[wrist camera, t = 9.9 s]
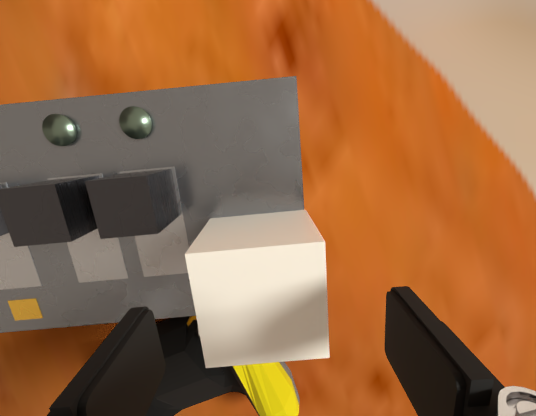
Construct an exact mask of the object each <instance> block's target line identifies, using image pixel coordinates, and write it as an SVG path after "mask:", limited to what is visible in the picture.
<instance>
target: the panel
mask: <svg viewBox="0 0 536 416" xmlns="http://www.w3.org/2000/svg"><path fill="white" fill-rule="evenodd" d="M0 184H1V186H2V188H1V189H0V209H1V212H2V215H3V217H4V220H5V223H6V226H7V228H8V231H9V233H8V234H5V235H2V236H0V333H3V332H14V331H26V330H37V329H49V328H60V327H71V326H83V325H94V324H106V323H117V322H120V320H121V319H122V318H123V317H124V315H125V314H126V313H127V312H128V310H129V309H130V308H133V307H145V306H146V307H148V308H149V310H152V311H153V314H154V318H155V319H163V318H174V317H186V316H196V313H195V307H194V302H193V296H192V291H191V286H190V280H189V275H188V270H187V264H186V259H185V253H186V252H187V250H188V249H189V247H190V246H191V245H192V243H193V242H194V240H195V239H196V238H197V236H198V235H199V233H200V232H201V231H202V229H203V228H204V226H205V225H206V224H207V222H208V221H209V219H210V218H220V217H231V216H242V215H253V214H264V213H274V212H285V211H296V210H304V199H303V182H302V165H301V148H300V131H299V114H298V97H297V79H296V76H293V77H282V78H272V79H262V80H252V81H241V82H231V83H221V84H210V85H200V86H190V87H179V88H169V89H159V90H149V91H138V92H128V93H118V94H107V95H97V96H87V97H76V98H66V99H56V100H46V101H35V102H25V103H15V104H4V105H0Z"/></svg>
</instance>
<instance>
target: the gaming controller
mask: <svg viewBox="0 0 536 416" xmlns="http://www.w3.org/2000/svg"><path fill="white" fill-rule="evenodd" d="M156 326H157V330H158V335H159V339H160V343H161V347H162V351H163V355H164V359H165V364H166V367H165V373H164V375H163V377H162V380H161V382H160V384H159V387H158V389H157V391H156V393H155V396H154V398H153V400H152V402H151V405H150V407H149V409H148V411H147V414H146V416H174V415H175V414H177V413H178V412H179V411H181V410H182V409H185V408H187V407H190V406H193V405H195V404H198V403H201V402H204V401H206V400H209V399H212V398H214V397H217V396H220V395H223V394H225V393H228V392H240V393H242V394H245V395H246V396H247V398H248V399H249V401H250V402H251V404H252V405H253V407H254V409H255V410H256V412H257V413H258V415H259V416H298V413H299V395H298V392H297V389H296V386H295V383H294V380H293V376H292V373H291V371H290V369H289V368H288V366H287V365H286V364H285V362H272V363H261V364H249V365H237V366H226V367H214V368H206V366H205V361H204V356H203V350H202V345H201V339H200V334H199V329H198V323H197V318H196V316H186V317H174V318H170V319H167V320H165V321H162V322H160V323H157V324H156Z"/></svg>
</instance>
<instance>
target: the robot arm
mask: <svg viewBox="0 0 536 416" xmlns="http://www.w3.org/2000/svg"><path fill="white" fill-rule="evenodd" d="M385 353H386V356H387V358H388V360H389V362H390V364H391V366H392V368H393V370H394V371H395V373H396V375H397V377H398V379H399V381H400V383H401V385H402V386H403V388H404V390H405V392H406V394H407V396H408V398H409V400H410V401H411V403H412V405H413V407H414V409H415V411H416V413H417V414H418V416H536V391H533V390H530V389H527V388H524V387H517V386H510V387H504V386H503V385H502V384H501V383H500V382H499V381H498V380H497V379H496V377H495V376H494V375H493V374H492V373H491V372H490V371H489V370H488V369H487V368H486V367H485V366H484V365H483V364H482V363H481V362H480V360H479V359H478V358H477V357H476V356H475V355H474V354H473V353H472V352H471V351H470V350H469V349H468V348H467V347H466V346H465V345H464V343H463V342H462V341H461V340H460V339H459V338H458V337H457V336H456V335H455V334H454V333H453V332H452V331H451V330H450V329H449V328H448V327H447V325H446V324H444V323H443V322H442V321H440V320H439V319H438V318H437V317H436V316H435V315H434V313H433V312H432V311H431V310H430V309H429V308H428V307H427V306H426V305H425V304H424V303H423V302H422V301H421V300H420V298H419V297H418V296H417V295H416V294H415V293H414V292H413V291H412V290H411V289H410V288H409V287H407V286H404V287H392V288H391V291H390V292H387V295H386V324H385ZM165 367H166V364H165V359H164V355H163V351H162V347H161V343H160V339H159V335H158V330H157V326H156V322H155V318H154V314H153V311H152V310H149V308H148V307H146V306H145V307H133V308H130V309H129V310H128V312H127V313H126V314H125V315H124V317H123V318H122V319H121V320H120V322H119V323H118V324H117V325H116V326H115V328H114V329H113V330H112V331H111V333H110V334H109V335H108V336H107V338H106V339H105V340H104V341H103V342H102V344H101V345H100V346H99V347H98V349H97V350H96V351H95V352H94V354H93V355H92V356H91V357H90V359H89V360H88V361H87V362H86V363H85V365H84V366H83V367H82V368H81V370H80V371H79V372H78V373H77V375H76V376H75V377H74V378H73V379H72V381H71V382H70V383H69V384H68V386H67V387H66V388H65V389H64V391H63V392H62V393H61V394H60V395H59V397H58V398H57V399H56V400H55V402H54V403H53V404H52V405H51V407H50V408H49V409H50V412H49V414H48V415H47V416H146V414H147V411H148V409H149V407H150V405H151V402H152V400H153V398H154V396H155V393H156V391H157V389H158V387H159V384H160V382H161V380H162V377H163V375H164V373H165Z"/></svg>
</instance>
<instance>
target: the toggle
mask: <svg viewBox="0 0 536 416" xmlns="http://www.w3.org/2000/svg"><path fill="white" fill-rule="evenodd" d="M1 188H2V186H1V184H0V189H1ZM8 233H9V231H8V228H7V226H6V223H5V220H4V217H3V215H2V212H1V209H0V236H2V235H5V234H8Z"/></svg>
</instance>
